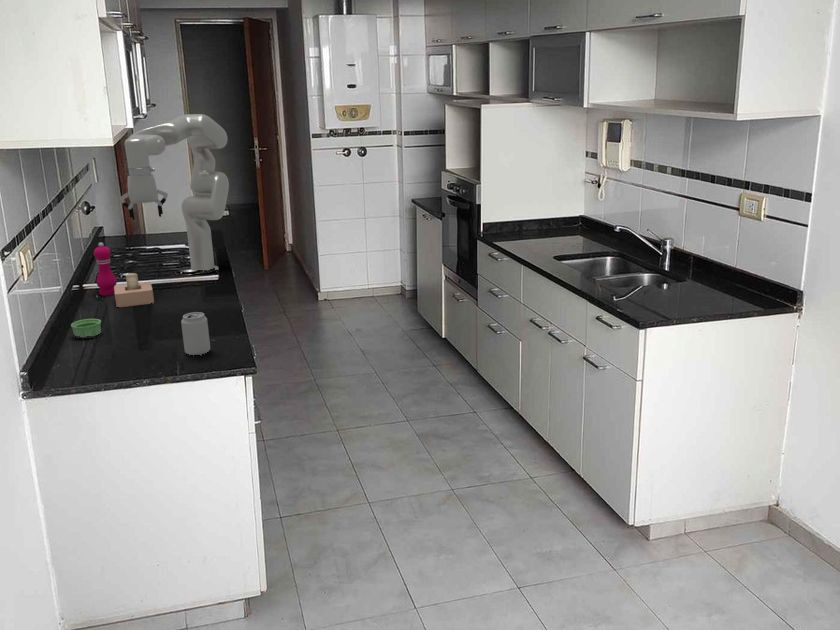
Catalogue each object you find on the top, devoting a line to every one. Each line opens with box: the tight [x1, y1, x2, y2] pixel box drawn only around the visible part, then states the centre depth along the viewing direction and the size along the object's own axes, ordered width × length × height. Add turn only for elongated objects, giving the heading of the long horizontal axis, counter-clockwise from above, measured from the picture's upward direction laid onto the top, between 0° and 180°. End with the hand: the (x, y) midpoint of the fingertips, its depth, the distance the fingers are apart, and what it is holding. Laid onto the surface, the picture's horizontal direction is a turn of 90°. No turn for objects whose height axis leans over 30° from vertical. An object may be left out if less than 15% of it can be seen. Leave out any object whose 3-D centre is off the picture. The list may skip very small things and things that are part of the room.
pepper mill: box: [93, 242, 118, 297], centre depth 306 cm, size 7×7×20 cm
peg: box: [125, 272, 139, 290], centre depth 296 cm, size 4×4×10 cm
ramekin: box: [70, 318, 102, 337], centre depth 259 cm, size 9×9×4 cm
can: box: [180, 311, 211, 357], centre depth 239 cm, size 8×8×12 cm
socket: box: [114, 281, 155, 308], centre depth 297 cm, size 13×13×5 cm
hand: (146, 217), depth 301 cm, fingers open, 9 cm apart
